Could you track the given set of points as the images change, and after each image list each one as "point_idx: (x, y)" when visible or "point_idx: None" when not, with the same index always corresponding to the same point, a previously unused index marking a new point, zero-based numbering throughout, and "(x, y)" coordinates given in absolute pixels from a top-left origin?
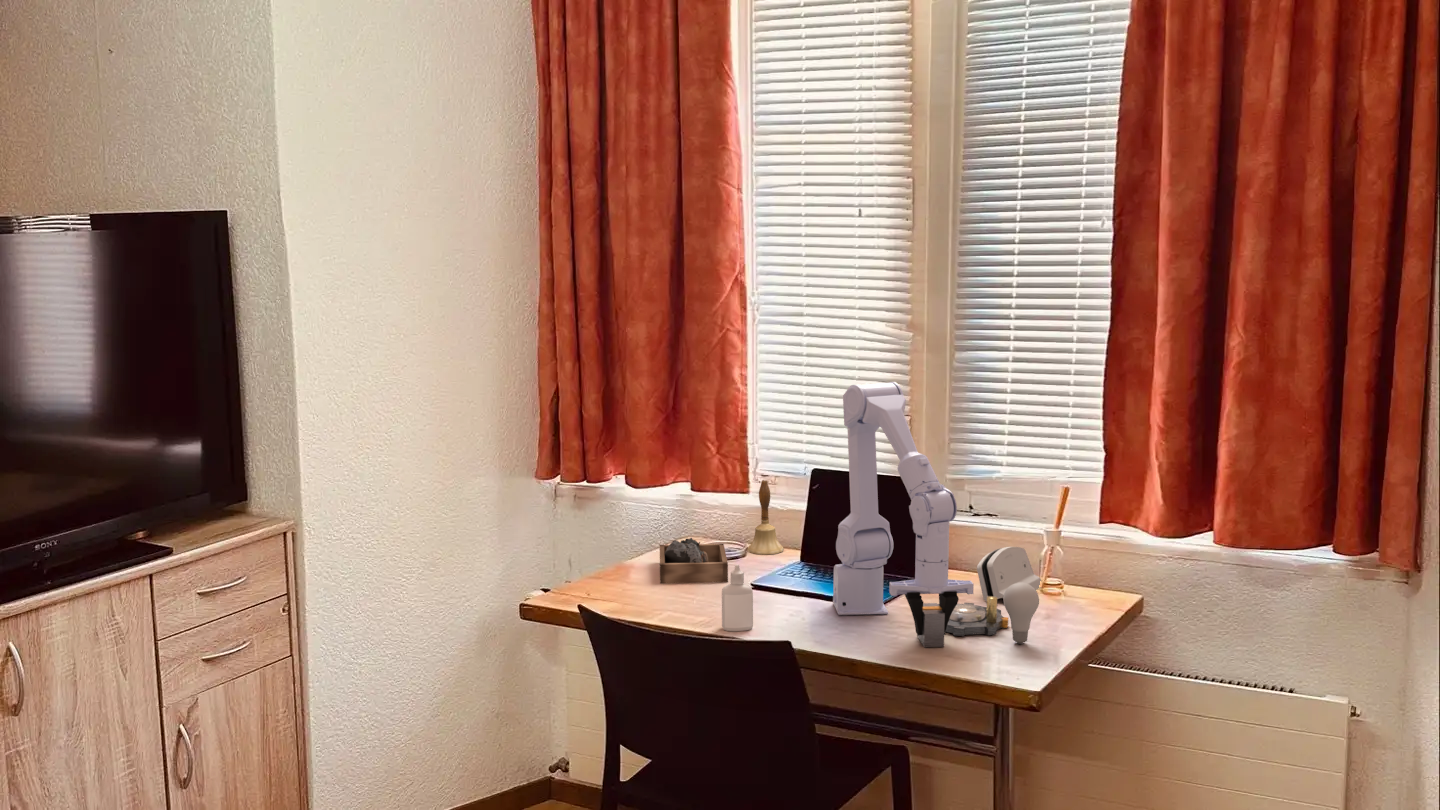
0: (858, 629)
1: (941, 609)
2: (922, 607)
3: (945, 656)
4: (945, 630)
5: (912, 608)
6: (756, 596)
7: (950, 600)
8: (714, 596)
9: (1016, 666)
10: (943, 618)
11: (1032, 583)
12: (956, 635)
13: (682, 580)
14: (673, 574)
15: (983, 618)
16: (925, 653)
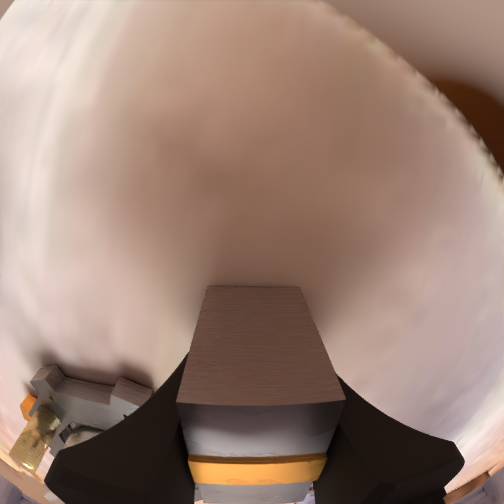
0: (412, 423)
1: (190, 456)
2: (358, 449)
3: (227, 171)
4: (184, 360)
5: (417, 431)
6: None
7: (101, 485)
8: (478, 465)
9: (18, 79)
10: (191, 376)
11: (46, 491)
12: (143, 386)
13: (473, 482)
14: (482, 482)
15: (69, 435)
16: (310, 221)
